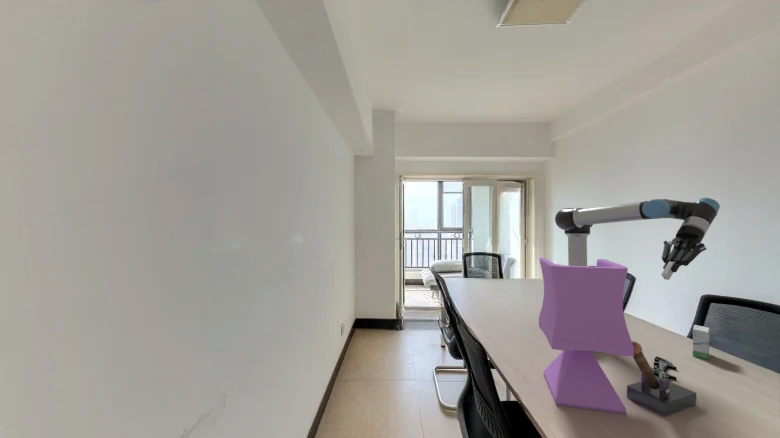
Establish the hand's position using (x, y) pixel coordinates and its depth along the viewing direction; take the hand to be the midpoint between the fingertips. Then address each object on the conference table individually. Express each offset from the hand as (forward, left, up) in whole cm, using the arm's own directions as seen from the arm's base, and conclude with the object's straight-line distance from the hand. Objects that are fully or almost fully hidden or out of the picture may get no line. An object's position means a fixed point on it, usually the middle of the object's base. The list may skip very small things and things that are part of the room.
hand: (665, 277), depth 118 cm
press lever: (-3, -22, -33) cm, 39 cm away
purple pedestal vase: (-23, -30, -38) cm, 54 cm away
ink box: (+13, +36, -38) cm, 54 cm away
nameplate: (-1, +6, -39) cm, 39 cm away
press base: (-2, -19, -38) cm, 43 cm away
